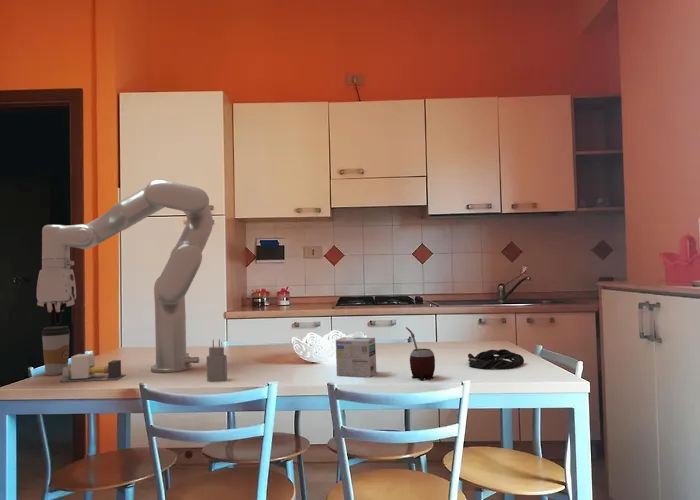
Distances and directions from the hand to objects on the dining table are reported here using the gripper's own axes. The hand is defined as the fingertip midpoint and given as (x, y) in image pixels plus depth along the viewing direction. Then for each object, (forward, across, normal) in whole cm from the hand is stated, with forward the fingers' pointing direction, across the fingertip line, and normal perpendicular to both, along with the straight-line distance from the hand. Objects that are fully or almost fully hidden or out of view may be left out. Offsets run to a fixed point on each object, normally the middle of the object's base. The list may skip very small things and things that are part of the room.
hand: (55, 324), depth 165 cm
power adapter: (+16, -51, +9) cm, 54 cm away
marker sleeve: (+17, -8, 0) cm, 19 cm away
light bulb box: (+16, -92, +8) cm, 93 cm away
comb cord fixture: (+17, -11, 0) cm, 20 cm away
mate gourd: (+15, -110, +17) cm, 112 cm away
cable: (+15, -136, +2) cm, 137 cm away
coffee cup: (+17, +5, -11) cm, 21 cm away
